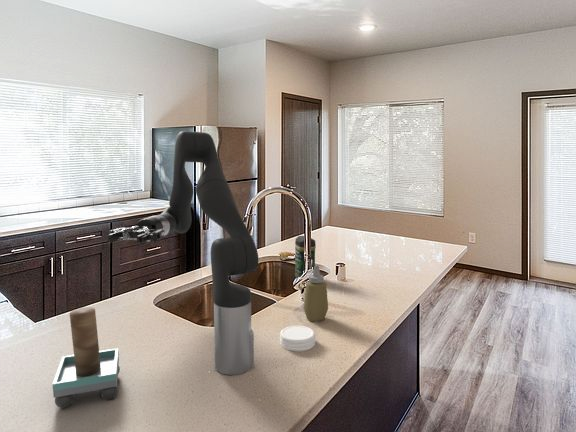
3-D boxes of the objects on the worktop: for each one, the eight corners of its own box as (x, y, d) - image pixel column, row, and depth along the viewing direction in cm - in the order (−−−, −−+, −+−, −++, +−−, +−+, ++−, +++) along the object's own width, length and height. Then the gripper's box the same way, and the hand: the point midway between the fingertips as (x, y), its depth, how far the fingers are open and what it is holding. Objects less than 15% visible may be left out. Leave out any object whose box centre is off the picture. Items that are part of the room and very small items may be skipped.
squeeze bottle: (329, 323, 128) (330, 269, 125) (303, 323, 128) (304, 268, 125) (326, 313, 136) (328, 262, 133) (302, 313, 136) (303, 261, 133)
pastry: (294, 256, 211) (294, 249, 210) (299, 260, 205) (299, 252, 204) (277, 258, 208) (277, 251, 207) (281, 261, 201) (281, 254, 201)
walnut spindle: (101, 362, 94) (96, 305, 91) (99, 374, 89) (93, 314, 87) (77, 366, 92) (71, 308, 90) (74, 378, 87) (67, 317, 85)
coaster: (308, 334, 121) (308, 323, 121) (320, 349, 112) (320, 337, 111) (276, 338, 118) (276, 327, 118) (285, 354, 109) (285, 342, 108)
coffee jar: (292, 276, 177) (293, 234, 174) (309, 274, 179) (310, 234, 177) (299, 283, 168) (300, 239, 165) (317, 281, 170) (318, 238, 167)
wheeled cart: (120, 372, 99) (118, 347, 98) (118, 400, 88) (116, 373, 87) (63, 381, 95) (61, 356, 94) (54, 413, 83) (51, 384, 82)
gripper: (131, 215, 126) (99, 224, 110) (173, 217, 124) (147, 226, 108) (132, 239, 127) (100, 251, 112) (174, 241, 125) (148, 254, 109)
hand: (123, 239), depth 110 cm, fingers open, 8 cm apart
